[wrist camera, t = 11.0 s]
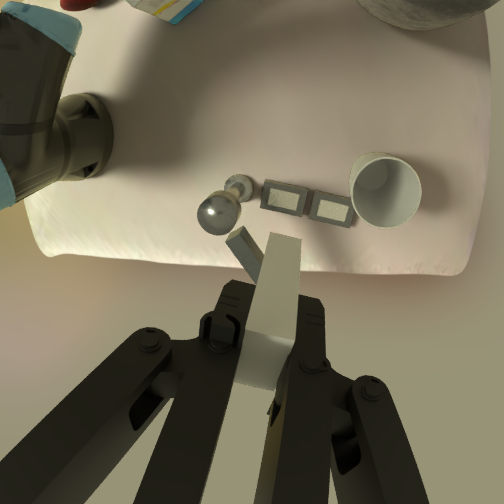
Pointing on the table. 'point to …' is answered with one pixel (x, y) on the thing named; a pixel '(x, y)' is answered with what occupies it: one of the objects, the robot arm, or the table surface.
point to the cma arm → (222, 222)
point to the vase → (425, 12)
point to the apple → (77, 4)
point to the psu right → (331, 209)
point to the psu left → (283, 198)
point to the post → (239, 187)
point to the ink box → (166, 8)
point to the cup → (384, 190)
